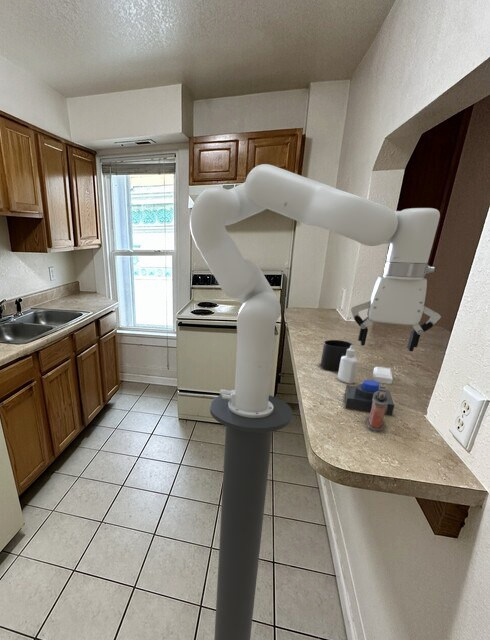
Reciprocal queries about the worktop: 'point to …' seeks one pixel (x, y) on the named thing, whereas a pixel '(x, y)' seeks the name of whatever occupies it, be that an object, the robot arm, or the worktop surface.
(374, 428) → the lighter
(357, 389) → the button housing
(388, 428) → the worktop surface
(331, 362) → the mug
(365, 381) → the blue button cap
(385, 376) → the soap bar
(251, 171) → the robot arm
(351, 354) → the eye dropper bottle
